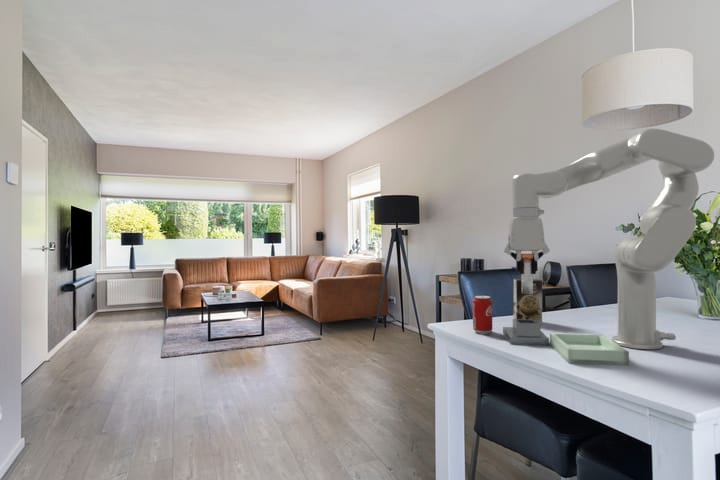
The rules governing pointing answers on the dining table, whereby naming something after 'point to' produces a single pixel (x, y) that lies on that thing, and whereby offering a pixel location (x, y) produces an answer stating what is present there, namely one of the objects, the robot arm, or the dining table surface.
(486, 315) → the beverage can
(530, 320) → the bracket
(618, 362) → the tray
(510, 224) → the robot arm
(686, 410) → the dining table surface
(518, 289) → the coffee box
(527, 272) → the lock pin
